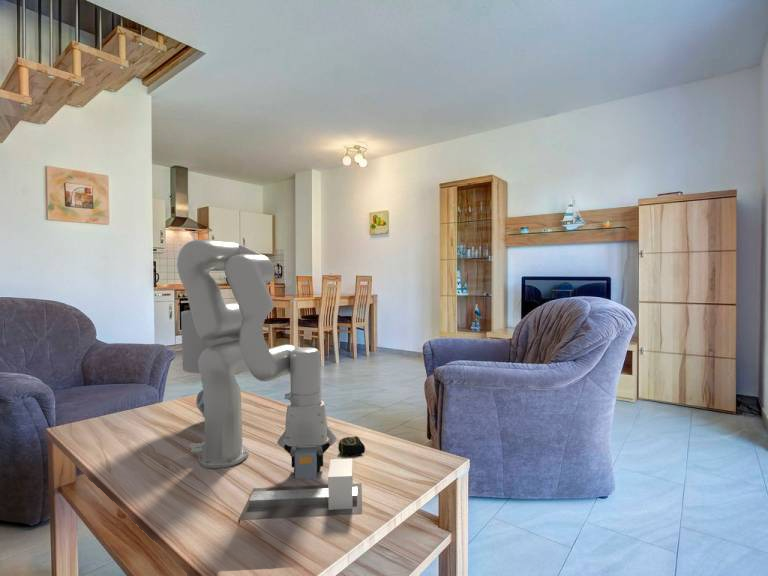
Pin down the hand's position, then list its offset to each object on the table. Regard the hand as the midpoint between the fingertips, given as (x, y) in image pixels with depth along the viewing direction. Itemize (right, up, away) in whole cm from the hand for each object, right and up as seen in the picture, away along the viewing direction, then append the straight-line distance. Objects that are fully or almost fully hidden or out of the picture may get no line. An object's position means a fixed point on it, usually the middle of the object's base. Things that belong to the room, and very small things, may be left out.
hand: (307, 468), depth 102 cm
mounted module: (+10, -1, -13) cm, 16 cm away
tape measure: (+10, -1, +12) cm, 16 cm away
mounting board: (+2, -2, -13) cm, 14 cm away
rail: (+2, -2, -13) cm, 14 cm away
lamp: (-38, -1, +38) cm, 53 cm away
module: (0, -1, 0) cm, 2 cm away
